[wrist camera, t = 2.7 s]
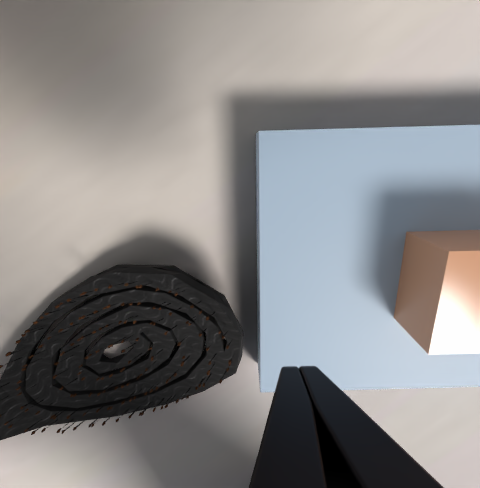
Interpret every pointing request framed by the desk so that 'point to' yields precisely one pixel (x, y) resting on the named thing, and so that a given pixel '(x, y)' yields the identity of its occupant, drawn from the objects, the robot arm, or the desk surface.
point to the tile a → (441, 290)
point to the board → (355, 248)
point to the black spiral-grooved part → (130, 369)
